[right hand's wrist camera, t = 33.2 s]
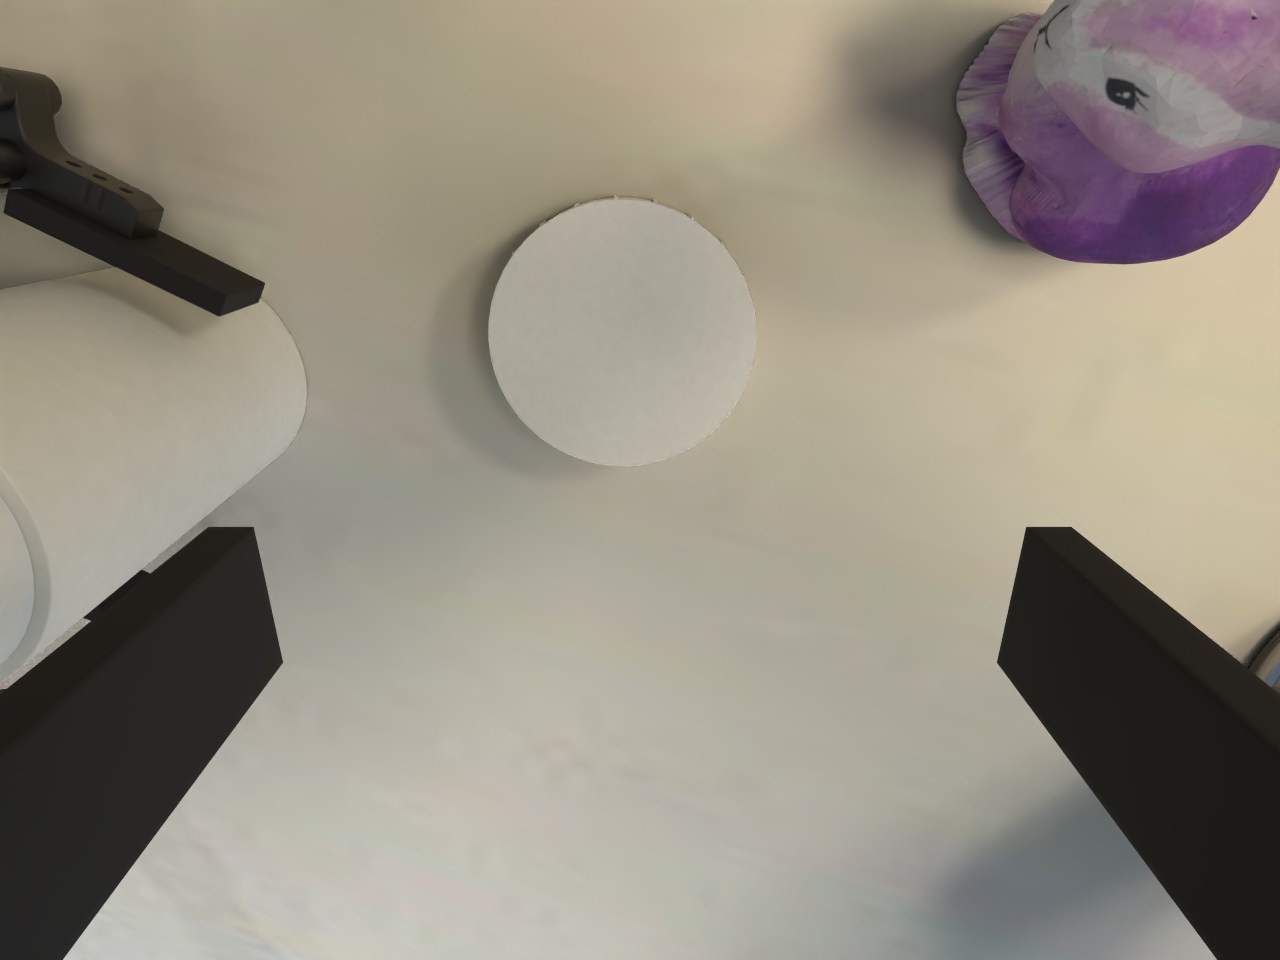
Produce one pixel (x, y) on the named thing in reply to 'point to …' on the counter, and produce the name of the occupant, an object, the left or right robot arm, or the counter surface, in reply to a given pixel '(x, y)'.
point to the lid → (622, 332)
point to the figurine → (1125, 124)
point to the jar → (122, 436)
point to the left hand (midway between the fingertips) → (189, 464)
